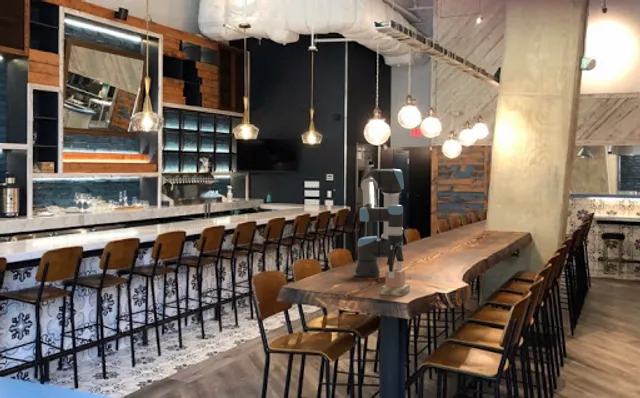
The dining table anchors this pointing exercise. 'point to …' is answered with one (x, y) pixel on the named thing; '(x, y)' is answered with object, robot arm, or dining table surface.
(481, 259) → the dining table surface
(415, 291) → the dining table surface
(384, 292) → the mottled grey-green square block
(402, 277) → the terracotta cube
